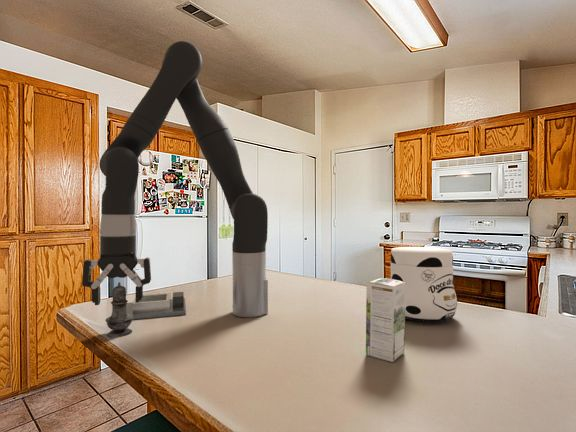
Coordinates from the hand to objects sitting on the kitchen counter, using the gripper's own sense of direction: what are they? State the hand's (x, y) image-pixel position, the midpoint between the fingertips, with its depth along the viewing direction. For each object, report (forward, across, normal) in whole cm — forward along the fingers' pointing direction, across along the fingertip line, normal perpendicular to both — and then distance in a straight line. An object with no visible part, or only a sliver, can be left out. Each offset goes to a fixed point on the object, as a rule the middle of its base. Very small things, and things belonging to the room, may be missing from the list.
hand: (117, 303), depth 79 cm
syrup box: (+6, -53, +30) cm, 61 cm away
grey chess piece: (+7, 0, 0) cm, 7 cm away
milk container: (+6, -76, +12) cm, 77 cm away
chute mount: (+7, -6, -17) cm, 19 cm away
